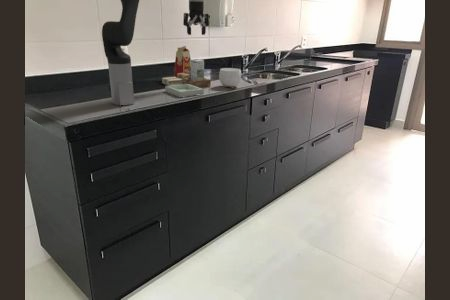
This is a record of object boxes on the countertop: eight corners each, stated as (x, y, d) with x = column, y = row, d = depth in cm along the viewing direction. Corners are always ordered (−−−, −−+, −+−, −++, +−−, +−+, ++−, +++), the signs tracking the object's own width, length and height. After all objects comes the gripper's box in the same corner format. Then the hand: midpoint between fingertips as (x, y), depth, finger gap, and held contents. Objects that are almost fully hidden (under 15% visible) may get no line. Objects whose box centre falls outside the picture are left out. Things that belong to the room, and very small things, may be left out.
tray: (203, 94, 158) (203, 89, 157) (180, 97, 151) (180, 91, 150) (187, 88, 170) (187, 83, 169) (165, 91, 162) (165, 86, 161)
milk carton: (194, 79, 196) (193, 45, 188) (182, 81, 190) (181, 46, 182) (184, 77, 202) (183, 44, 194) (173, 79, 196) (171, 45, 188)
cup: (245, 87, 178) (246, 69, 175) (230, 90, 170) (231, 72, 166) (229, 83, 186) (229, 67, 182) (214, 86, 177) (214, 69, 174)
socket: (210, 86, 177) (210, 79, 175) (193, 88, 170) (193, 81, 169) (199, 83, 185) (199, 76, 183) (183, 85, 178) (183, 78, 177)
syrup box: (196, 84, 181) (196, 58, 176) (204, 86, 178) (204, 59, 172) (189, 86, 177) (189, 59, 172) (197, 87, 174) (197, 60, 168)
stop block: (190, 83, 184) (190, 74, 182) (184, 84, 181) (184, 75, 179) (183, 81, 189) (183, 72, 188) (177, 81, 187) (177, 73, 185)
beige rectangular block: (182, 85, 179) (182, 79, 178) (169, 87, 175) (169, 80, 174) (175, 82, 187) (174, 76, 185) (162, 83, 183) (162, 77, 181)
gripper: (187, 0, 154) (188, 35, 160) (211, 1, 162) (211, 35, 168) (180, 0, 159) (181, 34, 166) (203, 1, 167) (203, 34, 174)
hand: (196, 34), depth 167 cm, fingers open, 8 cm apart
